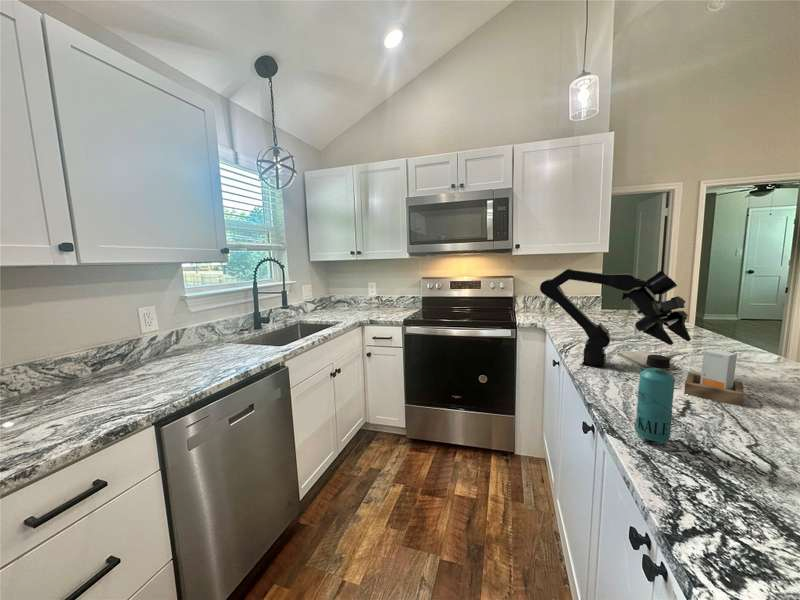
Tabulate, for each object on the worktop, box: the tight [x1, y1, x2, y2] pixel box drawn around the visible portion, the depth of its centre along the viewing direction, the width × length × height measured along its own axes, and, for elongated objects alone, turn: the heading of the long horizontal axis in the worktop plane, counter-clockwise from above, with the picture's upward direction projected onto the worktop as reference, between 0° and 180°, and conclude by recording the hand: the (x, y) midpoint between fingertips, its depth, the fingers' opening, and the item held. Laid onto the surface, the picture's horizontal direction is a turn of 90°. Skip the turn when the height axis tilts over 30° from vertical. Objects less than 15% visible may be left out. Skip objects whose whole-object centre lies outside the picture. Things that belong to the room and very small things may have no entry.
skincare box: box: [700, 348, 738, 391], centre depth 95 cm, size 6×4×12 cm
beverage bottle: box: [634, 354, 676, 443], centre depth 72 cm, size 6×7×20 cm
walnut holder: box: [683, 371, 745, 407], centre depth 96 cm, size 12×12×4 cm
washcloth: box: [616, 350, 677, 371], centre depth 125 cm, size 12×18×3 cm, turn 176°
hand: (680, 342), depth 103 cm, fingers open, 9 cm apart
